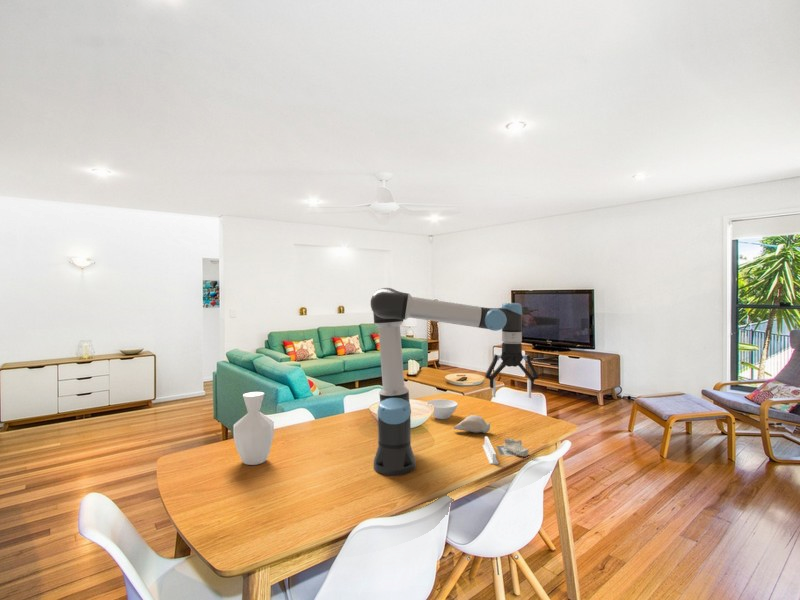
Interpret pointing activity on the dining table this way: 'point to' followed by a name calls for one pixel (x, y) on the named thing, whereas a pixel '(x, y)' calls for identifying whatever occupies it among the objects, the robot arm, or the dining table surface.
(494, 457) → the divider wall
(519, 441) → the coral
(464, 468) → the dining table surface
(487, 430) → the decorative bird
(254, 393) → the vase
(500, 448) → the rest mat
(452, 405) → the bowl
